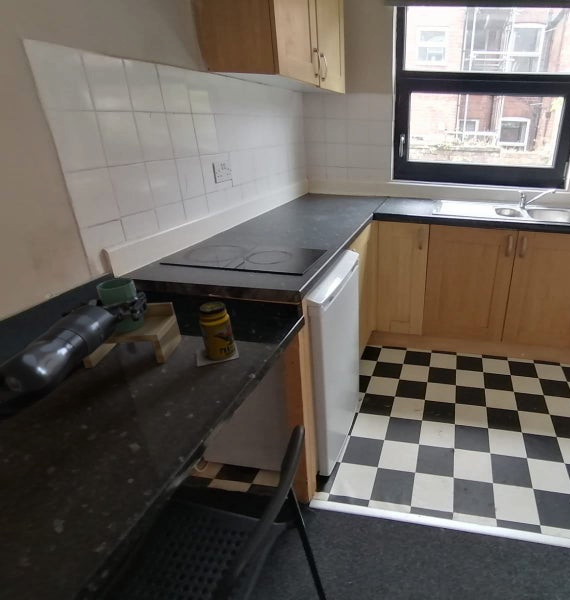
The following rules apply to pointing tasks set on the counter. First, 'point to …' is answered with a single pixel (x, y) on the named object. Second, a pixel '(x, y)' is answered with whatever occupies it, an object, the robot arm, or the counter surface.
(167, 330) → the shelf
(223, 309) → the condiment
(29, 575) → the counter surface
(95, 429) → the counter surface
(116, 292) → the cup
